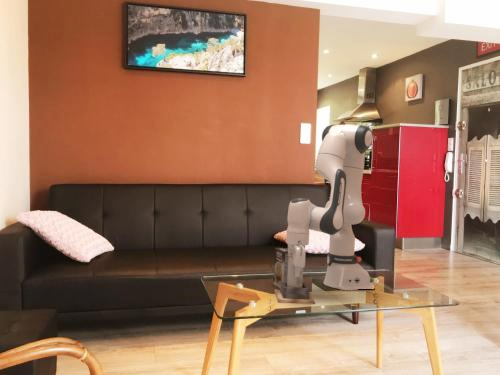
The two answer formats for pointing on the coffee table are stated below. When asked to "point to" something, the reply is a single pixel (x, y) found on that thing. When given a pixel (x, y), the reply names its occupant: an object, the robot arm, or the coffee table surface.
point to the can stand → (294, 294)
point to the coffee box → (280, 266)
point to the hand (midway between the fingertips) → (295, 274)
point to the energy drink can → (291, 279)
